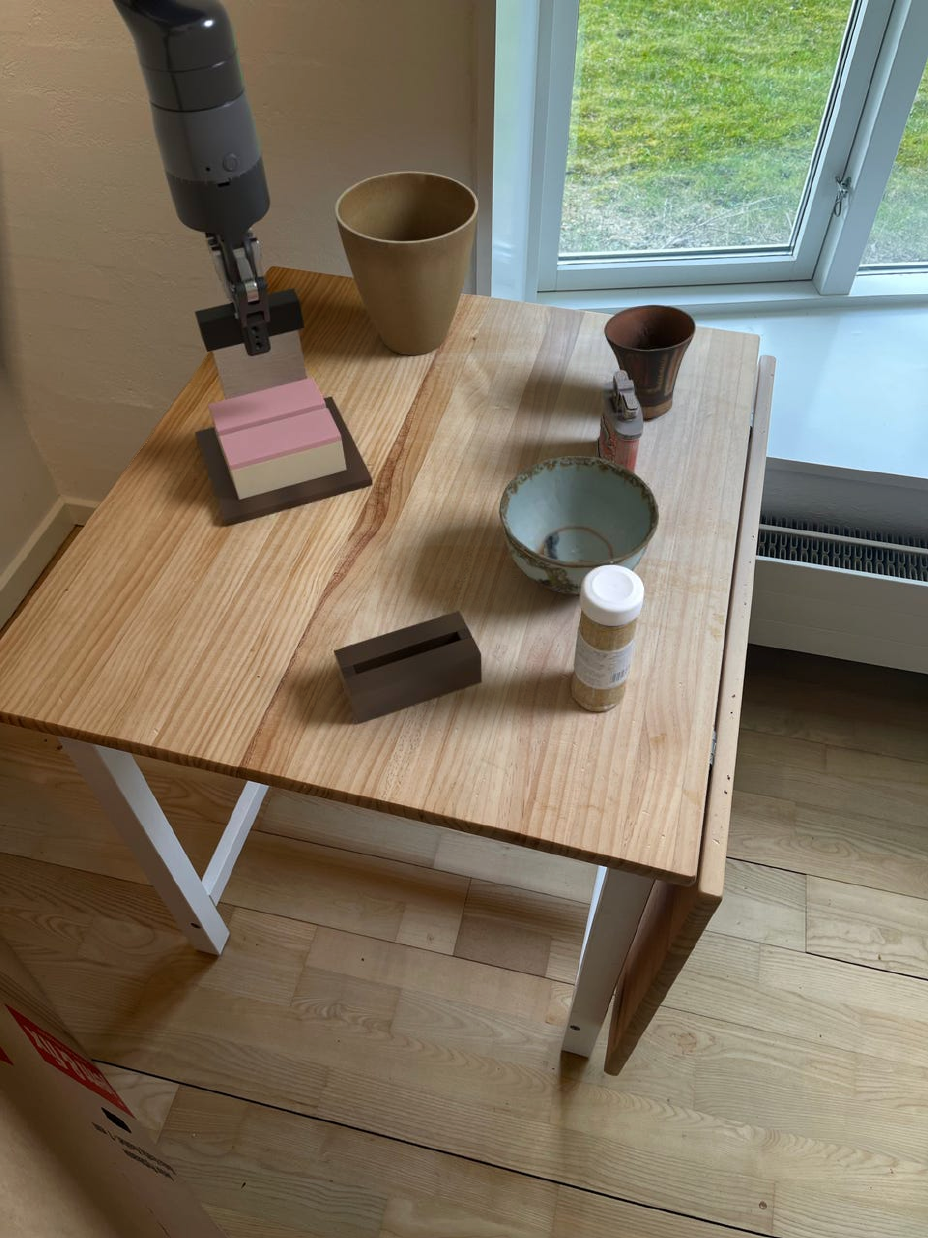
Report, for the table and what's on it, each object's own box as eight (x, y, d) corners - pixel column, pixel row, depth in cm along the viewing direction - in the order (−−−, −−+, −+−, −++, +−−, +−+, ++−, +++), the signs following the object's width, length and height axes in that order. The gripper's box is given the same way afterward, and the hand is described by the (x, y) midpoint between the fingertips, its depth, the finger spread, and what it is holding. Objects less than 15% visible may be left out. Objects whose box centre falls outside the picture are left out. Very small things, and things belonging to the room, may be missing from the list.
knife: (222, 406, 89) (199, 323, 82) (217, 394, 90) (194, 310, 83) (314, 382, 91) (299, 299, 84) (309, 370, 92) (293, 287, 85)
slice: (227, 465, 96) (216, 430, 92) (217, 438, 99) (207, 403, 95) (331, 437, 98) (325, 402, 95) (319, 411, 101) (313, 376, 97)
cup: (609, 370, 106) (618, 289, 98) (689, 386, 104) (705, 305, 96) (586, 418, 101) (594, 337, 93) (670, 437, 98) (685, 355, 91)
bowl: (541, 648, 82) (545, 587, 76) (474, 545, 89) (473, 483, 83) (676, 594, 85) (690, 532, 79) (600, 500, 93) (607, 437, 87)
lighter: (590, 441, 98) (598, 360, 91) (622, 438, 98) (633, 357, 91) (606, 495, 93) (616, 414, 86) (640, 491, 93) (653, 411, 86)
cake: (239, 500, 93) (229, 465, 89) (229, 471, 95) (218, 436, 92) (346, 470, 95) (341, 435, 92) (333, 442, 98) (327, 407, 94)
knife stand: (357, 724, 77) (351, 697, 74) (339, 678, 80) (333, 650, 77) (482, 682, 80) (481, 654, 77) (460, 638, 83) (459, 609, 79)
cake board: (226, 526, 92) (223, 519, 91) (196, 439, 100) (194, 431, 99) (372, 484, 95) (371, 477, 94) (333, 403, 103) (331, 395, 103)
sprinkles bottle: (606, 661, 81) (623, 554, 70) (635, 701, 78) (657, 596, 68) (559, 681, 80) (569, 575, 69) (587, 722, 77) (602, 618, 66)
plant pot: (453, 386, 105) (447, 252, 92) (331, 360, 108) (309, 227, 96) (497, 312, 113) (497, 180, 101) (382, 290, 117) (369, 160, 104)
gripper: (147, 125, 76) (199, 313, 90) (180, 204, 68) (232, 399, 82) (238, 107, 78) (276, 295, 91) (281, 183, 70) (316, 377, 83)
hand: (255, 343), depth 86 cm, fingers closed on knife, 2 cm apart
